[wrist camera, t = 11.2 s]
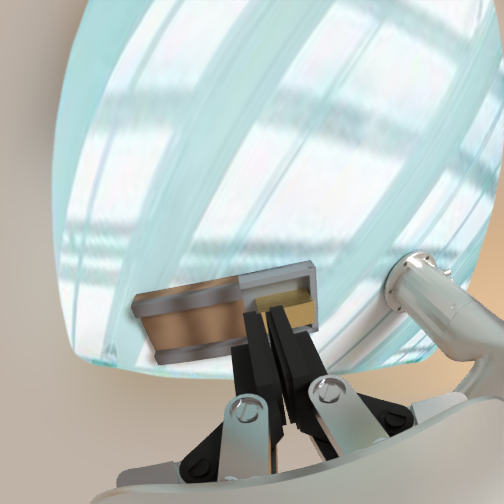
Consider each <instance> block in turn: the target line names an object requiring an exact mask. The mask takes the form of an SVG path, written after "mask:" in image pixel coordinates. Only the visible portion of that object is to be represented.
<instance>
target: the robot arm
mask: <svg viewBox="0 0 504 504" xmlns="http://www.w3.org/2000/svg"><path fill="white" fill-rule="evenodd" d="M449 275H451V271H450V269H446V270H443V271H442V270H440V269H439V268H437V265H436V262H435V260H434V258H433V257H432V256H431V255H430V254H428V253H427V252H425V251H414V252H411V253H409V254H407V255H406V256H404V257H403V258H402V259H401V260H400V261H399V262H398V263H397V264H396V265H395V266H394V268H393V269H392V271H391V272H390V274H389V276H388V279H387V281H386V285H385V290H384V296H385V301H386V303H387V305H388V306H389V307H390V308H391V309H392V310H394V311H396V312H406V313H407V314H408V315H409V316H410V317H411V318H412V319H413V320H414V321H415V322H416V323H417V324H418V325H419V326H420V328H421V329H422V330H423V331H424V332H425V333H426V334H427V335H428V336H429V337H430V338H431V340H432V341H433V342H434V343H435V344H436V345H437V346H438V347H439V348H440V349H441V351H442V352H443V353H444V354H445V355H446V356H447V357H448V358H450V359H451V360H454V361H460V362H465V361H475V364H474V366H473V367H472V369H471V370H470V371H469V373H468V374H467V376H466V377H465V378H464V379H463V381H462V382H461V383H460V384H459V385H458V386H457V388H456V389H455V390H454V391H453V392H451V393H447V394H444V395H441V396H437V397H434V398H431V399H427V400H423V401H419V402H415V403H412V404H411V406H408V407H405V406H403V405H399V404H395V403H391V402H387V401H384V400H380V399H377V398H373V397H369V396H366V395H363V394H359V393H356V392H355V391H354V389H353V388H352V387H351V385H350V384H349V383H348V382H347V381H346V380H345V379H344V378H342V377H340V376H337V375H328V374H327V372H326V370H325V367H324V365H323V363H322V361H321V359H320V357H319V354H318V352H317V350H316V348H315V346H314V344H313V342H312V339H311V337H310V335H309V333H308V331H302V332H298V333H293V330H292V328H291V325H290V323H289V320H288V318H287V315H286V313H285V310H284V308H283V306H282V305H279V306H275V307H270V308H269V310H270V311H268V312H265V315H266V321H267V327H268V333H269V339H270V343H269V339H268V336H267V332H266V329H265V325H264V321H263V318H262V314H261V313H258V314H256V311H251V312H246V313H243V318H244V323H245V329H246V335H247V340H248V344H243V345H238V346H232V347H231V356H232V365H233V374H234V383H235V391H236V397H235V398H233V399H232V400H231V401H229V403H228V404H227V406H226V409H225V413H224V421H223V422H222V423H221V424H220V425H219V426H218V427H217V428H216V429H215V430H214V431H213V432H212V433H211V434H210V435H209V436H208V437H207V438H206V439H205V440H203V441H202V442H201V443H200V444H199V445H198V446H197V447H196V448H195V449H194V450H192V451H191V452H190V453H189V454H188V455H187V456H186V457H185V458H184V459H183V460H182V461H180V462H176V463H174V462H173V461H171V462H166V463H161V464H157V465H151V466H146V467H140V468H133V469H128V470H125V471H123V472H122V473H120V474H119V476H118V478H117V482H116V485H117V488H115V489H112V490H108V491H106V492H103V493H101V494H99V495H97V496H96V497H95V498H94V499H93V500H92V501H91V503H90V504H504V321H503V320H502V319H500V318H498V317H497V316H496V315H495V314H494V313H492V312H491V311H490V310H488V309H487V308H486V307H485V306H483V305H482V304H481V303H480V302H479V301H477V300H476V299H475V298H473V297H472V296H471V295H470V294H468V293H467V292H466V291H465V290H463V289H462V288H461V287H460V286H458V285H457V284H456V283H454V282H453V279H452V278H451V277H449V278H448V277H447V276H449ZM270 345H271V347H270ZM282 394H283V397H282ZM283 398H284V402H285V405H286V409H287V412H288V416H289V419H290V423H291V424H292V423H296V425H297V429H300V431H301V432H303V433H305V434H308V435H309V436H310V439H311V441H312V442H313V445H314V446H315V448H316V450H317V452H318V454H319V456H320V457H321V459H322V461H323V462H322V463H319V464H315V465H312V466H308V467H304V468H300V469H296V470H291V471H287V472H282V473H278V461H277V443H278V442H279V441H280V440H281V438H282V437H283V436H284V433H283V427H282V426H283V425H286V418H285V411H284V405H283Z"/></svg>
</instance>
